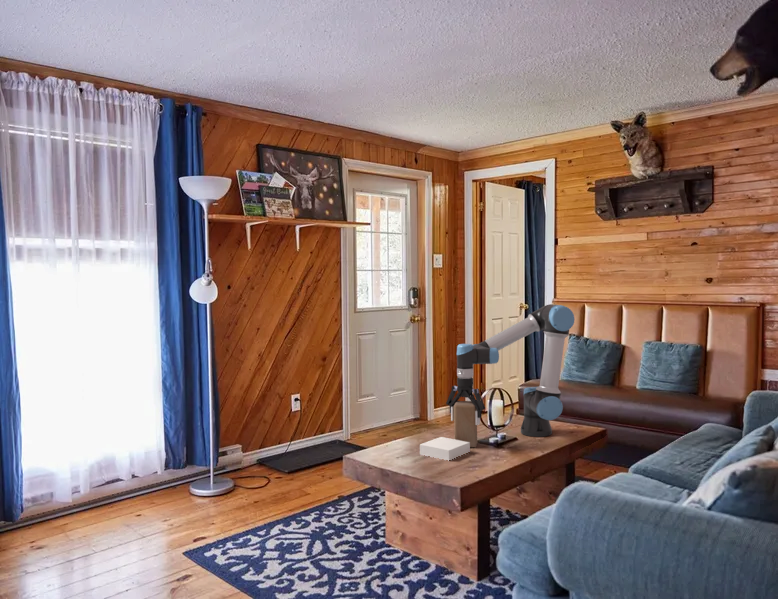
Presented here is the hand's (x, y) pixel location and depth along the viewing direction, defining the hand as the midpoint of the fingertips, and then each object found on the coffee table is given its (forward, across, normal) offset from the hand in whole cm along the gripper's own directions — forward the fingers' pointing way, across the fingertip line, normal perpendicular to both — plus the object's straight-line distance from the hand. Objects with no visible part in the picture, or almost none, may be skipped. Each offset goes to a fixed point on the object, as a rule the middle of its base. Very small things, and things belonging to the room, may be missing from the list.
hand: (465, 422), depth 286 cm
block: (+11, 0, 0) cm, 11 cm away
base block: (+11, 0, -17) cm, 20 cm away
